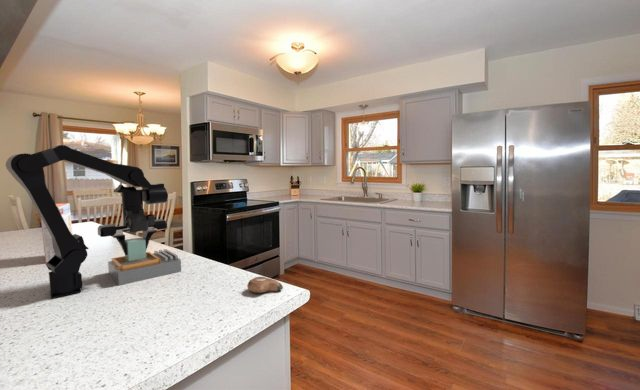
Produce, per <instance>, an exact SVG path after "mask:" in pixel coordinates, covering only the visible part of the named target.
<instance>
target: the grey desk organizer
mask: <svg viewBox="0 0 640 390" xmlns="http://www.w3.org/2000/svg"><path fill="white" fill-rule="evenodd" d="M107 266H108V267H107V268H108V275H110V277H111V278H112V279H113V280H114V282H115V283H116V284H117V285H118V286H123V285H126V284H131V283H132V284H133V283H135V282H139V281H145V280H149V279H154V278H158V277H162V276H163V277H164V276H167V275H172V274H175V273H179V272H182V259H180V258H179V256H178V254H176V253H174V252H172V251H171V250H169V249H167V248H166V249H165V248H163V250H162V249H159V250H158V251H157V250H153V253H152V252H150V251H146V258H143V259H138V260H132V261H128V260H127V259H126V258H125V255H123V256H118V257H112V258H111V260H110V261H107Z"/></svg>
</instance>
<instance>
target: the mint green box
mask: <svg viewBox="0 0 640 390" xmlns="http://www.w3.org/2000/svg"><path fill="white" fill-rule="evenodd" d="M125 242H126V248H127V255H125V254H124V256H125V258H126V259H127V260H128V261H132V260H138V259H143V258H146V252H147V249H146V241H145V239H143V237H136V238H135V237H134V238H129V239H125Z"/></svg>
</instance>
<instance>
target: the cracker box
mask: <svg viewBox="0 0 640 390" xmlns="http://www.w3.org/2000/svg"><path fill="white" fill-rule="evenodd" d="M55 204H56V206H57V208H58V210H59V212H60V214H61V216H62V218H63V219H64V221H65V223H66V225H67V227H68V229H69V231H70V232H71V234H72V235H74V233H73V226H72V225H73V224H72V216H71V215H72V214H71V204H70V203H69V202H67V203H64V202H63V203H55ZM40 223H41V233H42V241H43V252H44V261H45V264H46V263H47V262H48V261H49V260H50V259H51V258H52V257H53V256H54V255H55V252H54V249H53V243H52V237H51V235H50V233H49V231H48V229H47V227H46V226H45V224H44V222H43V220H42V218H41V217H40Z"/></svg>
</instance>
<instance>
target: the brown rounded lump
mask: <svg viewBox="0 0 640 390" xmlns="http://www.w3.org/2000/svg"><path fill="white" fill-rule="evenodd" d="M246 286H247V289H248V290H249V291H250V292H252V293H256V294H261V293H269V292H270V293H271V292H278V291H280V290H283V289H284V286H283V285H282V283H281V282H280V281H278V280H276V279H273V278H268V277H266V276H256V277H253V278H251V279H250V280H249V281H248V282H247V285H246Z"/></svg>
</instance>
